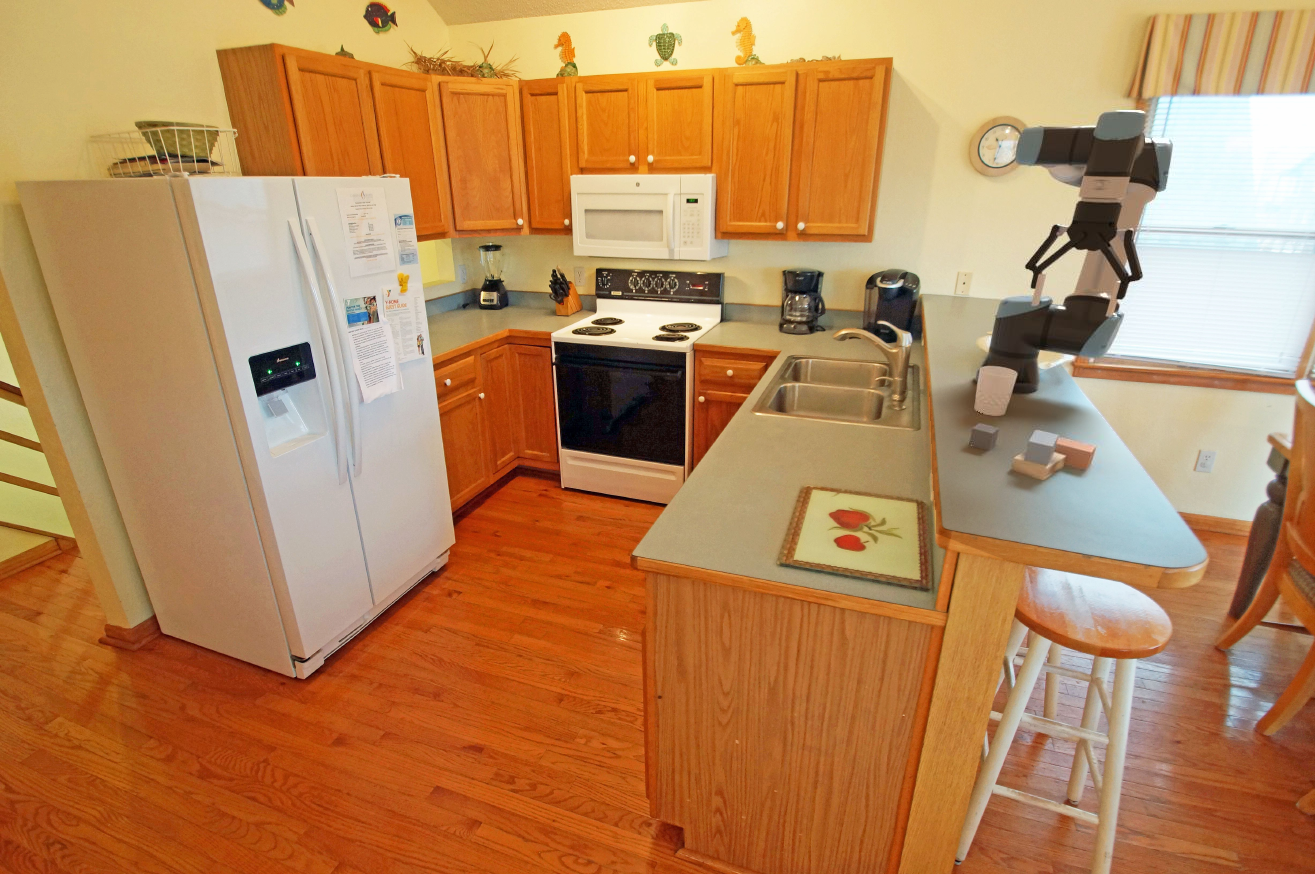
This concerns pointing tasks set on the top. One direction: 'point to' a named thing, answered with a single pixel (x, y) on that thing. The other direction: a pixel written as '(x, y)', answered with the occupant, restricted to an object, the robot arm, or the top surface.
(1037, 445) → the blue block
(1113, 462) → the top surface
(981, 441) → the charcoal block
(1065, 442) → the terracotta block
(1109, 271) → the robot arm
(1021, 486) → the top surface
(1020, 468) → the maple block
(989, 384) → the white cup
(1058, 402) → the top surface
